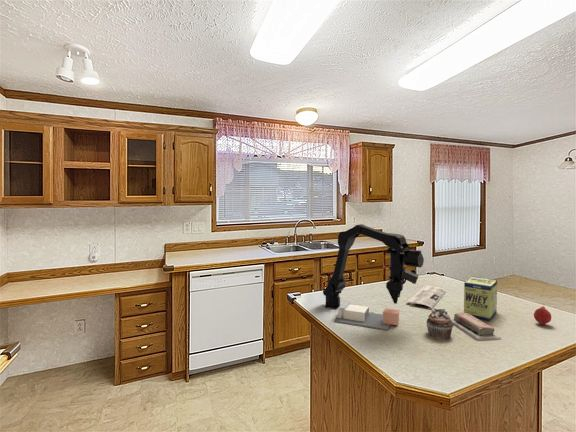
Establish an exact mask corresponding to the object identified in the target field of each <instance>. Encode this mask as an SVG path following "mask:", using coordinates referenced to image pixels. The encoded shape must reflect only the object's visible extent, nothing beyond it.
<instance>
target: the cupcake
mask: <svg viewBox="0 0 576 432" xmlns="http://www.w3.org/2000/svg"><path fill="white" fill-rule="evenodd" d="M431 309H432V308H431ZM427 317H428V318H427V319H426V326H427V327H426V328H427V332H428V335H429V336H430V337H432V338H434V339H437V340H449V339H450V338H451V336H452V331H453V328H454V325H453V322H452V321H451V320H452V319H451V316H450V314H448V311H447V310H446V309H445V308H439V309H438V308H433V309H432V310H431V312H430V314H429V315H428V316H427Z"/></svg>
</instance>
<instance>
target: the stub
mask: <svg viewBox="0 0 576 432" xmlns="http://www.w3.org/2000/svg"><path fill="white" fill-rule="evenodd" d="M382 314H383V323H385V324H391V325H393V326H399V324H400V310H399V309H394V308H387V307H385V308H384V309H383V311H382Z"/></svg>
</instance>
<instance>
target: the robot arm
mask: <svg viewBox="0 0 576 432" xmlns="http://www.w3.org/2000/svg"><path fill="white" fill-rule="evenodd" d="M360 235H363V236H365V237H368V238H371V239H374V240H376V241H379V242H381V243H382V244H383V245H385V246H386V247H388V248H387V249H386V250H385V251H384V253H385V254H389V267H388V270H389V276H388V278H389V279H388V280H387V281H386V283H385V287H386V290H387V291H388V293H389V295H390V298H391V300H392V302H393V304H394V305H396V304H398V300H399V298H400V297H401V293H402V291H403V289H404V285H405V284H406V282H409V283H411V284H415V285H416V284H417V281H418V279H419V274H418V273H417V270H416V269H414V268H420V269H421V268H422V267H423V265H424V260H425V258H424V255H423V254H422V250H419V249H417V250H414V249H412V248H411V246H410V245H409V244H408V242H407V240H406V237H405V236H404V235H403V234H398V233H393V232H392V233H390V232H389V233H388V232H385V231H382V230H379V229H375V228H373V227H370V226H367V225H365V224H363V223H361V224H356V225H355V226H353V227H352V228H349V229H347V230H345V231H344V230H343V231H340V232H339V233H338V235H337V245H338V252H337V257H336V260H335V264H334V265H335V266H334V269H333V270H334V271H333V272H332V273H333V274H332V276H331V277H330V279H329V280H328V282H327V283H326V284H327V285H326V287H325V288H324V289H323V290H322V295H323V296H325V305H324V308H328V309H336V310H338V309H339V307H340V306H341V297H340V294H341V293H342V292H343V290H344V289H345V288H346V284H347V280H346V279H344V273H345V269H346V264H347V260H348V257H349V253H350V249H351V248H352V246H353V245H354V243H355V240H356V238H358V237H360ZM406 266H407V267H412V269H411V270H408V269H406Z"/></svg>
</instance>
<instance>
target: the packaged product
mask: <svg viewBox="0 0 576 432" xmlns="http://www.w3.org/2000/svg"><path fill="white" fill-rule="evenodd" d="M453 317H454V318H453V319H451V321H452V322H453V326H455V327H456V328H458V329H459V330H460V331H461V332H463V333H464V334H465V335H468V336H469V337H471V338H472V339H474V340H475V341H491V340H492V341H493V340H501V339H502V336H500V335H498V334H496V333H495V328H493V327H492V326H491V325H489V324H487V323H485V322H483V320H481V319H477V318H475V317H473V316H472V315H470V314H468V313H464V312H458V313H457V312H456V313H454V315H453Z"/></svg>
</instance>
